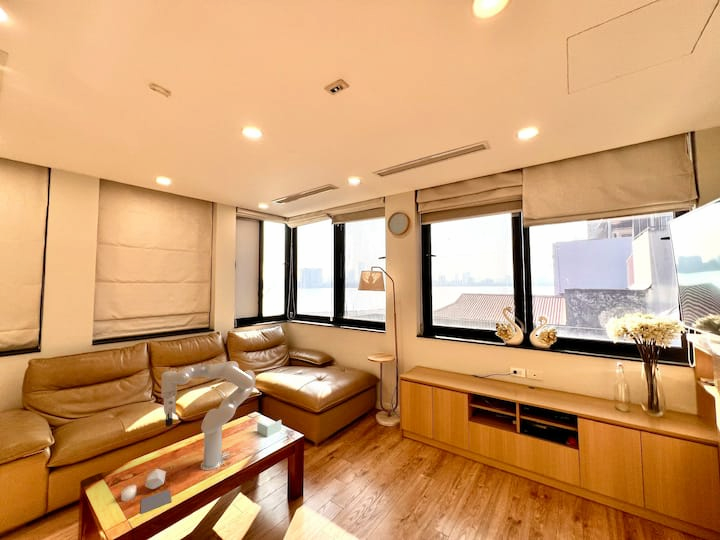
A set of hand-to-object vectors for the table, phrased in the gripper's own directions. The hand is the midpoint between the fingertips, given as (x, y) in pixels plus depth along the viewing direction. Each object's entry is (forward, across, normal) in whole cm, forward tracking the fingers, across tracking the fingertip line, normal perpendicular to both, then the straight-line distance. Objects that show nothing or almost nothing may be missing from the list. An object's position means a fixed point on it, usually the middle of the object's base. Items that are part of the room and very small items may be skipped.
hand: (169, 425), depth 164 cm
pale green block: (+27, +4, -62) cm, 68 cm away
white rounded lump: (+26, -10, +18) cm, 33 cm away
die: (+26, -11, +7) cm, 30 cm away
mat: (+26, -22, +8) cm, 35 cm away
